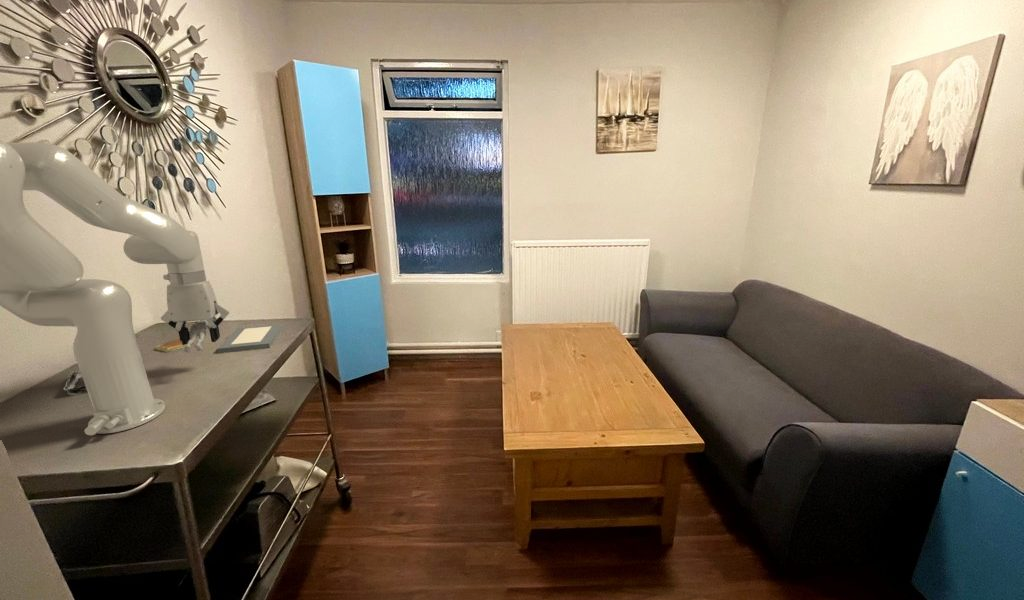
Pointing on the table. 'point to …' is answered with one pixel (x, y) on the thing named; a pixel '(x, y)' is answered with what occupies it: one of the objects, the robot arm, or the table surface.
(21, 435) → the table surface
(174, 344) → the shard
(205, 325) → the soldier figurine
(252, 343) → the base plate
